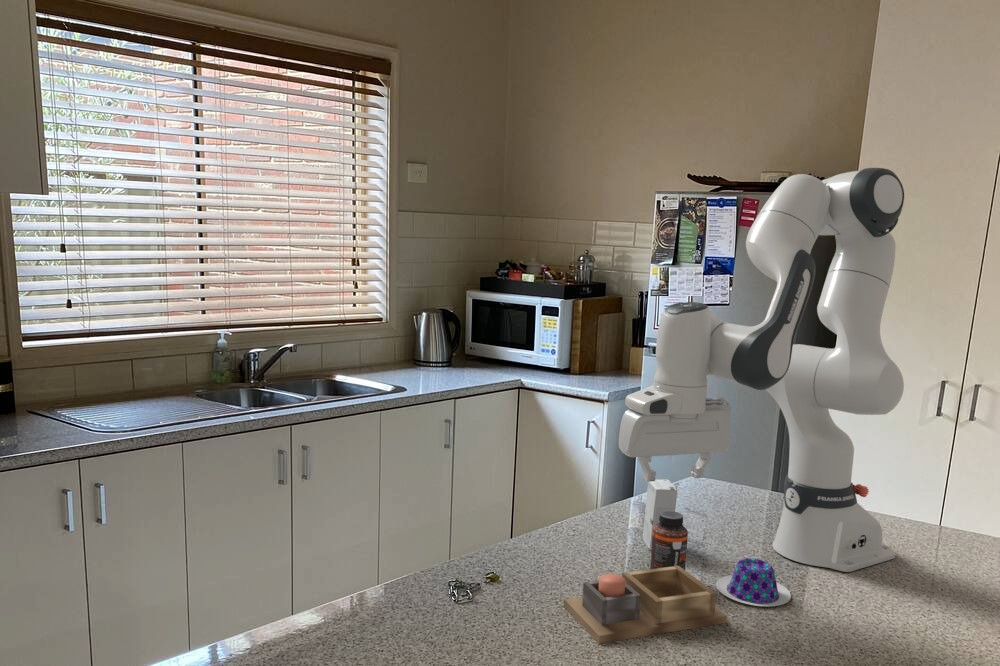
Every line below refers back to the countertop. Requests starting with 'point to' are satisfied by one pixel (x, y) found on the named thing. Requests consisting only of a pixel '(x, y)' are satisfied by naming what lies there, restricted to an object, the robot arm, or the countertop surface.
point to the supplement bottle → (669, 541)
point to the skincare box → (657, 505)
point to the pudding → (754, 584)
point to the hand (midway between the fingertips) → (673, 478)
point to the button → (611, 585)
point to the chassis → (646, 605)
